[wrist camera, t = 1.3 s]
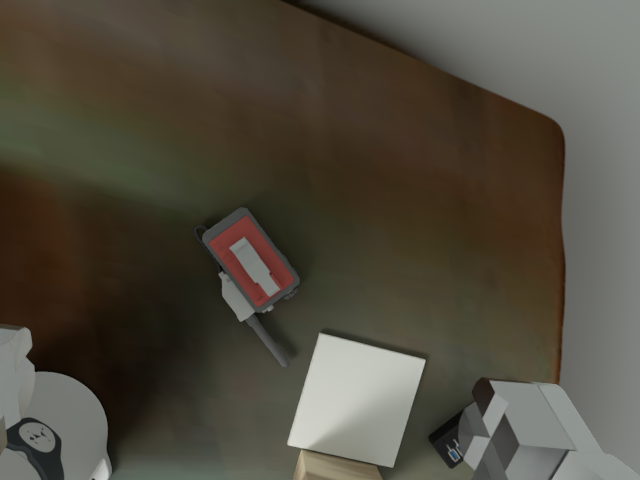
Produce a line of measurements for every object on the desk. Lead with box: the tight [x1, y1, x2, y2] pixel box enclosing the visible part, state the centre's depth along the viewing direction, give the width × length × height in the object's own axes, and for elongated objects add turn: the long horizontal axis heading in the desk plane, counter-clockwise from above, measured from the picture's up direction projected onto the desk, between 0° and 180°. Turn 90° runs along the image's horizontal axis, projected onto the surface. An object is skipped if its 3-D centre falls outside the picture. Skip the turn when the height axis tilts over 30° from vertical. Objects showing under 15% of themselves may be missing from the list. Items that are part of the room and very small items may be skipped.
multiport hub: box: [428, 401, 475, 469], centre depth 66 cm, size 4×11×2 cm, turn 126°
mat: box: [287, 332, 426, 468], centre depth 65 cm, size 14×14×1 cm
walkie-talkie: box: [194, 207, 300, 367], centre depth 60 cm, size 9×4×20 cm
